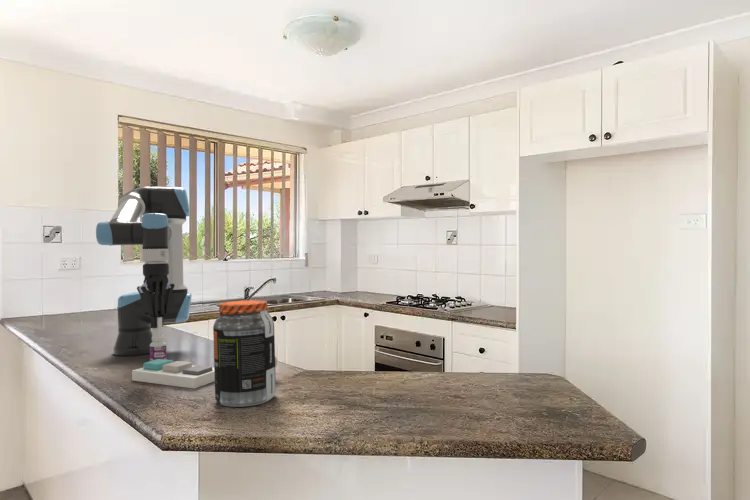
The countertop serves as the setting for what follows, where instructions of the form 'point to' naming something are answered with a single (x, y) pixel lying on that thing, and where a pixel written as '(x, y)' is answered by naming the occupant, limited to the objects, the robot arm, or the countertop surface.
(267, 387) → the supplement tub
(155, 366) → the teal key
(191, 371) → the charcoal key
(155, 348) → the pill bottle
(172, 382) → the keypad
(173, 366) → the grey key
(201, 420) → the countertop surface
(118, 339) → the robot arm
